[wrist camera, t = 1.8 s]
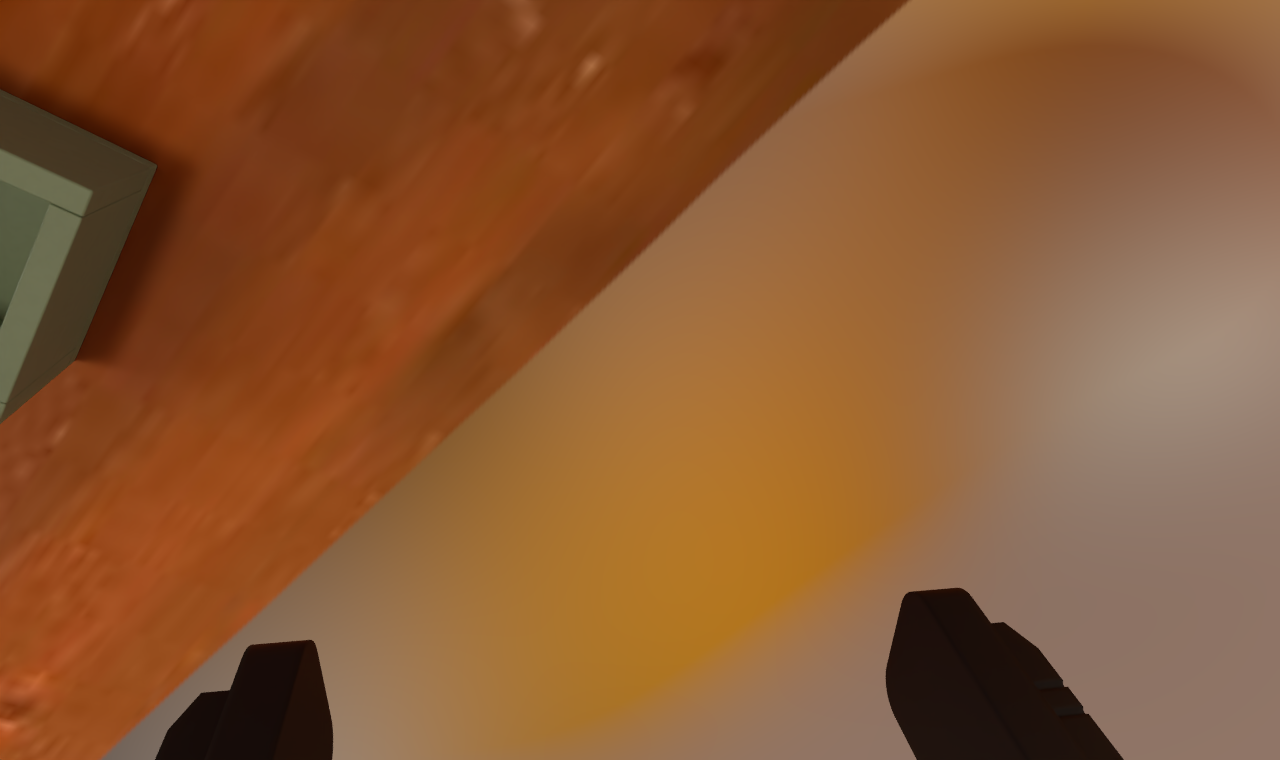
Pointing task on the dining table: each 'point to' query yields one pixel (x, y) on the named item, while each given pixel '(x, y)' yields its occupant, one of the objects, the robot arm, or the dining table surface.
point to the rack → (56, 239)
